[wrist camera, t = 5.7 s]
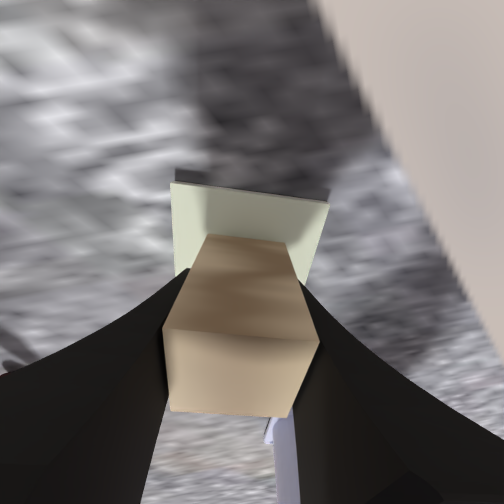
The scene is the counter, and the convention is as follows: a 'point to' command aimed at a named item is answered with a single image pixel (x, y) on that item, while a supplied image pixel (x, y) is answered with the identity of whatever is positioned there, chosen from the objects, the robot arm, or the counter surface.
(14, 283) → the counter surface
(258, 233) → the coaster
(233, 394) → the block
